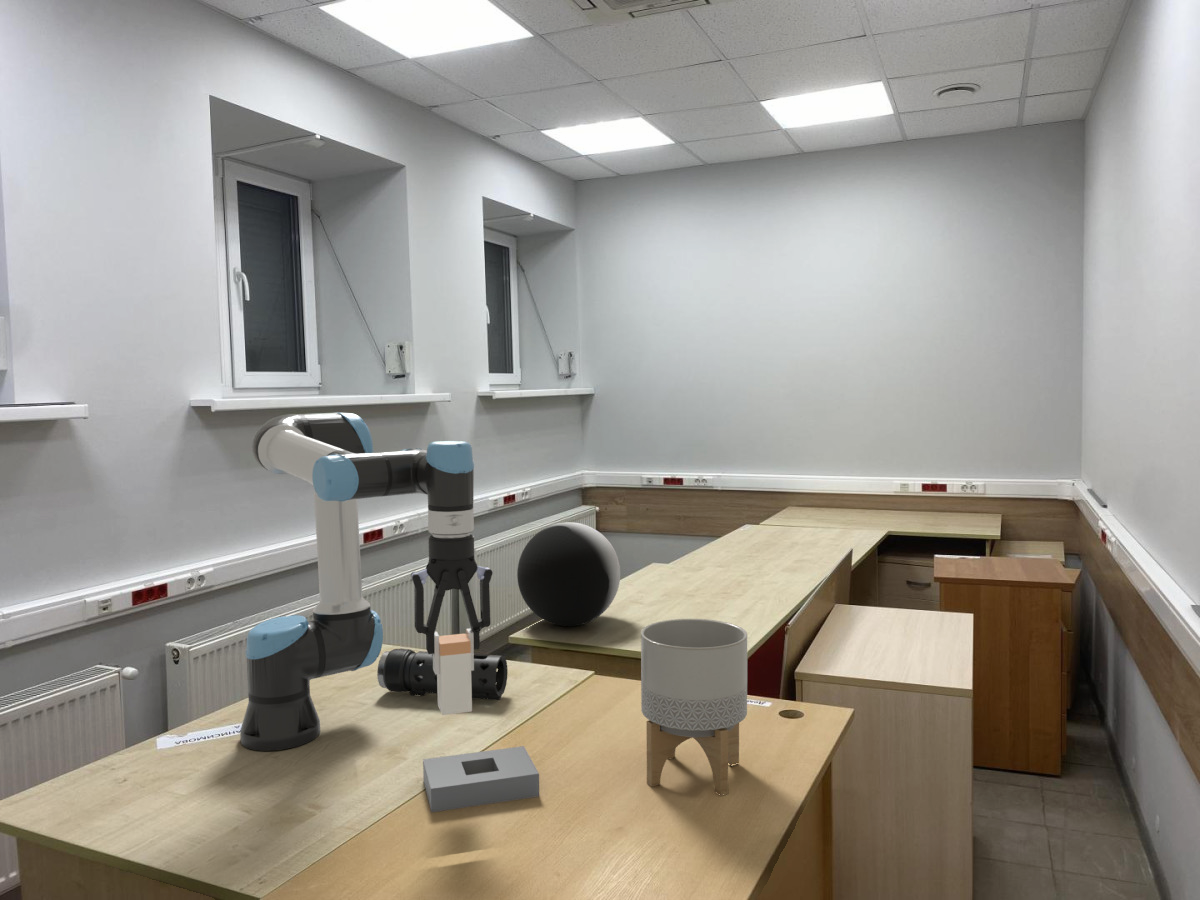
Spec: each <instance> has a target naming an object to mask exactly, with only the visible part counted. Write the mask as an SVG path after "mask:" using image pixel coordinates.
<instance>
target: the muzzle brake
mask: <svg viewBox="0 0 1200 900" xmlns="http://www.w3.org/2000/svg"><path fill="white" fill-rule="evenodd" d="M508 672H509V671H508V662H507V658H506V657H505V656H504V655H497V654H495V655H494V654H477V653H476V654H475V653H474V670H473V671H471V686H472V699H476V700H491V701H492V700H494V701H499V700H500V699H501V698H502V696H503V694H504V692H505V690H506V688H507V687H506V686H507V682H508ZM376 673H377V674H376V675H377V677H376V678H377V682H378V685H379V686H380V687H381V688H384V689H385V688H386V689H387V691H390V692H395V693H396V692H398V693H408V694H409V695H410V696H415V695H420V697H424V696H425V695H427V694H433V695H434V694H436V695H438V693H437V674H436V675H435V673H434V671H433V654H428V652H427V651H424V650H423V651H417V652H416V651H415V650H414V649H410V648H393V649H392V650H385V651H383V653H382V654H381V656H380V658H379V661H378V665H377V672H376Z"/></svg>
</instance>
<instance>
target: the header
mask: <svg viewBox="0 0 1200 900" xmlns="http://www.w3.org/2000/svg"><path fill="white" fill-rule="evenodd" d="M422 770H423V771H422V772H423V773H422V774H423V775H422V776H423V785H424V789H425V792H426V796H427V800H428V804H429V805H428V806H429V808H430V812H431V813H435V812H443V811H450V810H455V809H456V810H457V809H463V808H470V807H476V806H483V805H490V804H497V803H501V802H502V803H505V802H510V801H515V800H516V801H517V800H524V799H531V798H535V797H537V798H538V797H540V773H539V771H538V769H537V767H536V765H535V764H534V762H533V760H532V758H531V756H530V755H529V753H528V751H527V749H526V748H525V746H524V745H522V746H515V747H507V748H498V749H490V750H484V751H476V752H469V753H468V752H467V753H460V754H459V753H458V754H453V755H446V756H445V755H444V756H437V757H431V758H422Z"/></svg>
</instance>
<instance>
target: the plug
mask: <svg viewBox="0 0 1200 900" xmlns="http://www.w3.org/2000/svg"><path fill="white" fill-rule="evenodd" d="M439 653H440V674H437V693H438V694H437V707H438V708H439V711H440V714H441V715H442V716H446V715H453V714H462V713H468V712H469V713H470V712H471V713H472V712H473V698H472V686H471V643H470V640H469V639H468V637H467V636H466V633H456V634H447V635H439Z"/></svg>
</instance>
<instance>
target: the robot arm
mask: <svg viewBox="0 0 1200 900" xmlns="http://www.w3.org/2000/svg"><path fill="white" fill-rule="evenodd" d="M251 448H252V450H251V451H252V455H253V457H254V458H255V460H256V462H257V464H259V466H260V467H262V468H264V469H265V470H266V471H269V472H271V473H273V474H274V473H275V474H277V475H287V474H289V475H291V476H294V477H296V478H299V479H301V480H303V481H305V482H308V483H309V484H310V485H311V486H312V487H313V495H314V496H313V498H314V501H313V502H314V515H315V516H314V517H315V533H316V536H315V537H316V552H317V553H316V555H317V567H318V568H317V570H318V571H317V572H318V585H319V586H318V587H319V588H318V589H319V590H318V591H319V602H317V603H318V604H316V606H315V607H313V609H312V615H313V616H312V617H313V619H312V620H309V621H308V619H307V617H305V616H303V615H299V614H294V615H292V614H291V615H282V616H278V617H274V618H270V619H267V620H264V621H262V622H260V623H258V624H256V625H255V626H254V627H253V628H251V629H250V630H249V632H248V633H247V636H246V649H245V658H246V670H247V672H246V673H247V690H248V691H247V693H248V695H247V697H248V702H247V706H246V710H245V714H244V717H243V720H242V723H241V727H240V731H239V732H240V733H239V734H240V735H239V736H240V744H241V746H243V747H244V748H247V749H249V750H253V751H262V752H263V751H264V752H268V751H269V752H271V751H272V752H273V751H281V750H283V751H284V750H288V749H292V748H296V747H299V746H302V745H305V744H308V743H309V742H311V741H312V740H314V739H316V738H317V737H318V736H319V735H320V734H321V733H320V732H321V719H320V716H319V715H318V712H317V709H316V707H315V704H314V702H313V699H312V696H311V691H310V690H311V689H310V688H311V686H310V682H311V680H314V679H318V678H319V679H320V678H323V677H327V676H333V675H337V674H341V673H345V672H355V671H357V670H359V669H361V668H366V667H369V666H371V665H373V664H374V663H375V662H376V661H377V659H378V658H379V656H380V653H381V651H382V647H383V641H384V639H383V638H384V629H383V624H382V623H381V622H382V621H381V617H380V615H379V614H378V613H377V612H376V611H375V610H373V609H371V603H370V602H369V601H367V600H366V599H365V598H364V597H363V585H362V584H363V583H362V581H363V580H362V565H361V546H360V527H359V509H358V507H359V506H358V499H359V500H360V499H369V498H379V497H391V496H404V495H413V494H416V495H417V494H423V495H426V496H427V513H428V514H427V516H428V517H427V518H428V520H427V521H428V522H427V527H428V528H427V529H428V530H427V532H428V533H429V534H431V535H430V536H429V537H428V561H427V565H426V567H425V569H422V570H419V571H413V572H411V573H410V578H411V581H412V583H413V585H414V628H415V631H416V632H417V633H418V634H424V635H425V645H426V647H425V648H426V652H428V654H433V671H434V673H435V675H436V674H440V653H439V636H440V635H439V633H438V631H436V629H437V625H438V620H439V616H440V612H441V608H442V604H443V600H444V597H445V594H446V591H451V590H458V591H459V592H460V594H461V598H462V600H463V604H464V608H465V611H466V616H467V618H468V622H469V625H470V628H465V629H466V630H465V632H466V633H465V634H466V636H467V637H468V639H469V640H470V643H471V671H473V670H474V654H475V653H474V652H475V650H479V649H480V646H481V643H480V639H481V638H480V637H481V636H480V632H481V631H482V629H484V628H488V627H489V626H490V625H491V600H490V597H491V596H490V595H491V594H490V582H491V579H492V576H493V570H492V569H491V568H490V567H489V566H480V565H478V564H477V562H476V560H475V536H474V535H473V534H472V532H474V530H475V521H474V517H475V516H474V475H475V474H474V473H475V472H474V471H475V470H474V468H475V464H474V461H473V447H472V445H471V443H469V442H467V441H461V440H459V441H457V440H439V441H438V440H437V441H432V442H430V443H429V444H428V445H427V449H422V448H417V447H416V448H405V449H402V450H396V451H395V450H394V451H383V452H381V451H380V452H374V444H373V438H372V435H371V432H370V429H369V427H368V425H367V424H366V423H365V420H363V418H362V417H361V416H359V415H357V414H355V413H351V412H338V411H336V412H325V413H324V412H322V413H321V412H320V413H298V414H297V413H289V414H282V415H281V414H280V415H278V416H275V417H273V418H271V419H269V420H267V421H265V422H264V424H262V425H261V426H259V428H258V429H257V430H256V432H255V434H254V436H253V438H252V443H251ZM476 573H477V575H476V576H477V578H478V579H479V609H480V619H478V616H477V613H476V608H475V605H474V602H473V601H474V600H473V598H472V593H471V589H470V586H469V583H470V582H471V580H472V578H473V577H474V575H475V574H476ZM428 576H429V578H430V579H431V580H432V581H433V583H434V584H435V585H434V591H433V596H432V600H431V605H430V609H429V611H428V616H427V620H426V621H427V622H426V624H425V622H424V621H425V620H424V619H425V615H424V614H425V611H424V610H425V609H424V607H425V606H424V604H425V603H424V601H425V600H424V599H425V597H424V586H423V585H425V584H426V583H427V577H428Z"/></svg>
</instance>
